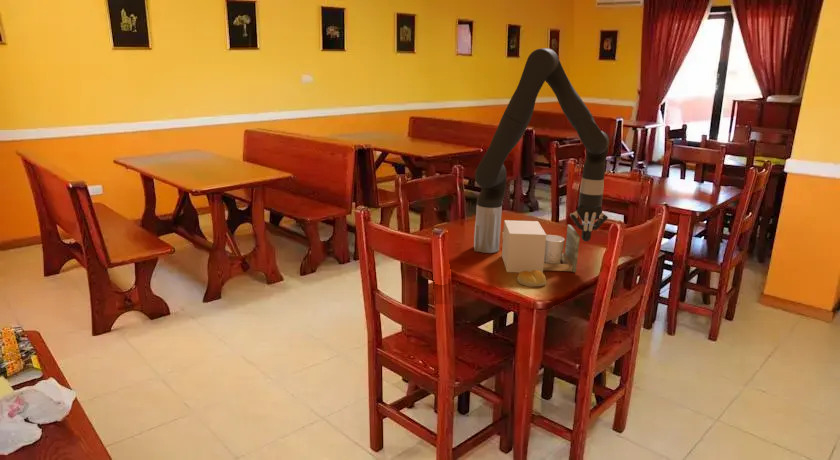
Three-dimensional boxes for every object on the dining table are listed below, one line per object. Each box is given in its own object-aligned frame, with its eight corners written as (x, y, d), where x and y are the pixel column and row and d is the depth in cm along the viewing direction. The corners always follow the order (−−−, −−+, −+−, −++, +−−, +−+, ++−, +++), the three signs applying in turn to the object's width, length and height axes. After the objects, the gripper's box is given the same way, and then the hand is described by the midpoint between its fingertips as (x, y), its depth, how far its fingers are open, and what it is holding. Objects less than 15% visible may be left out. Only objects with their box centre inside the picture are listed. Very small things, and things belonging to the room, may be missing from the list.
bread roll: (514, 278, 188) (515, 267, 187) (540, 278, 189) (541, 266, 188) (521, 288, 180) (522, 276, 179) (549, 287, 181) (550, 275, 180)
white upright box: (506, 271, 193) (509, 233, 189) (501, 255, 209) (504, 220, 205) (542, 273, 193) (546, 234, 189) (534, 257, 209) (538, 221, 205)
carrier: (536, 270, 194) (539, 234, 190) (529, 257, 207) (532, 223, 204) (578, 272, 194) (582, 236, 190) (569, 258, 207) (572, 224, 203)
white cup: (562, 270, 196) (565, 242, 193) (538, 268, 198) (541, 240, 195) (561, 262, 204) (564, 235, 201) (538, 260, 205) (541, 233, 202)
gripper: (574, 193, 189) (568, 243, 194) (614, 194, 189) (608, 244, 194) (569, 188, 197) (564, 236, 201) (608, 189, 196) (601, 238, 201)
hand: (585, 240), depth 198 cm, fingers closed
